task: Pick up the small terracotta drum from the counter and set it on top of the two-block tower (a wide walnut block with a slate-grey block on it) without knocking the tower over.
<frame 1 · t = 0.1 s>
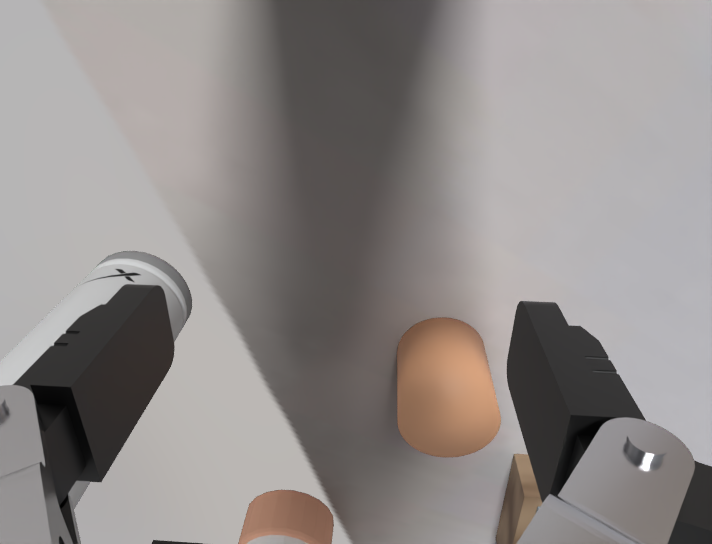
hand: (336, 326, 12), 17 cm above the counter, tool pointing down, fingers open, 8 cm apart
terracotta drum: (440, 352, 34), on the counter
walnut base block: (568, 496, 41), on the counter, touching slate top block
salt shaker: (290, 515, 44), on the counter
travel mug: (143, 289, 33), on the counter
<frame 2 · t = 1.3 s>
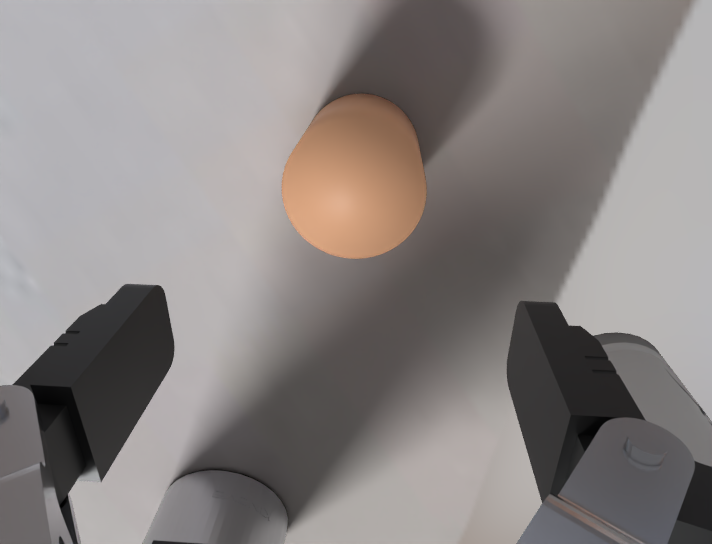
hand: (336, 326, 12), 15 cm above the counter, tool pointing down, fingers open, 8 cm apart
terracotta drum: (361, 153, 25), on the counter
travel mug: (603, 374, 31), on the counter
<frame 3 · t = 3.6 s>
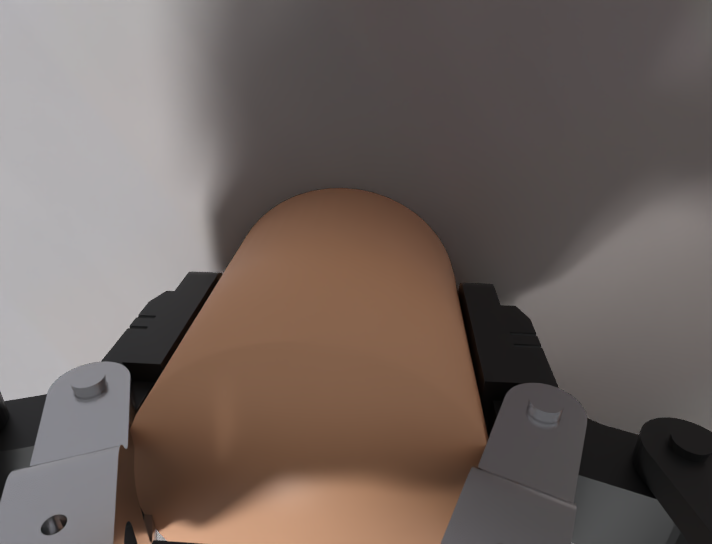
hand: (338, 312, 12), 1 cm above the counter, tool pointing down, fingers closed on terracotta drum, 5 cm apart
terracotta drum: (343, 293, 13), on the counter, touching gripper
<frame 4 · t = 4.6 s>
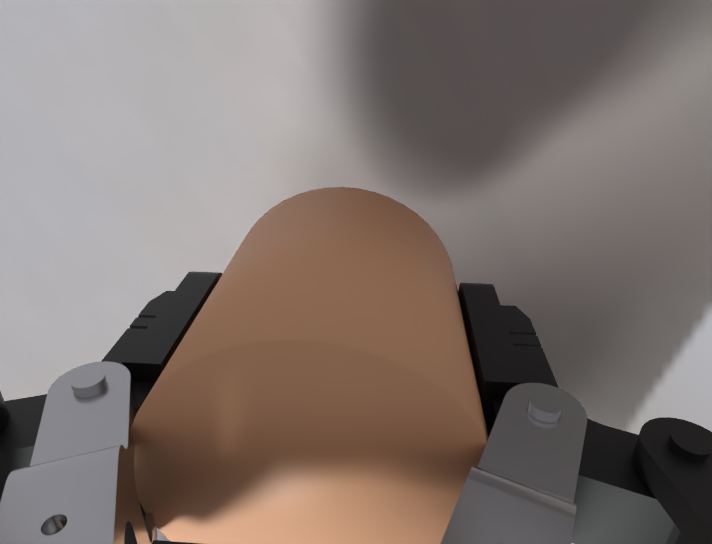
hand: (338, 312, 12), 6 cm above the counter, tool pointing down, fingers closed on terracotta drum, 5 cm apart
terracotta drum: (343, 293, 13), point 5 cm above the counter, touching gripper
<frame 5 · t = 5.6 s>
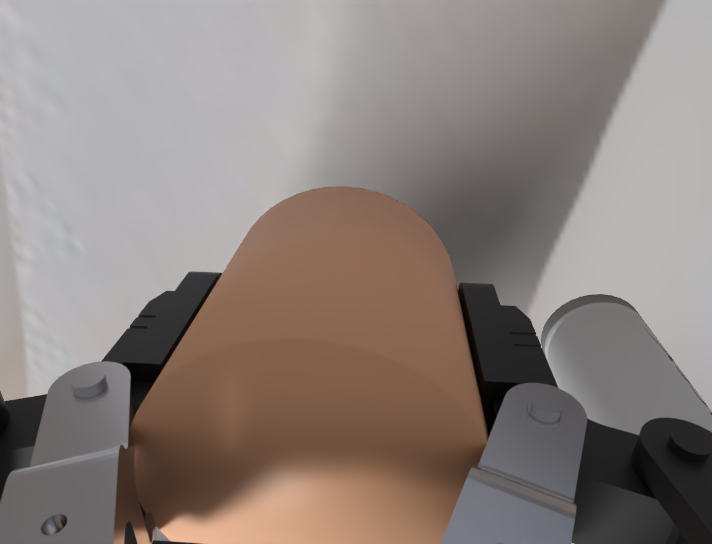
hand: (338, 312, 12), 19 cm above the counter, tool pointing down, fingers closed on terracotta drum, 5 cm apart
terracotta drum: (343, 292, 13), point 18 cm above the counter, touching gripper
travel mug: (588, 333, 34), on the counter
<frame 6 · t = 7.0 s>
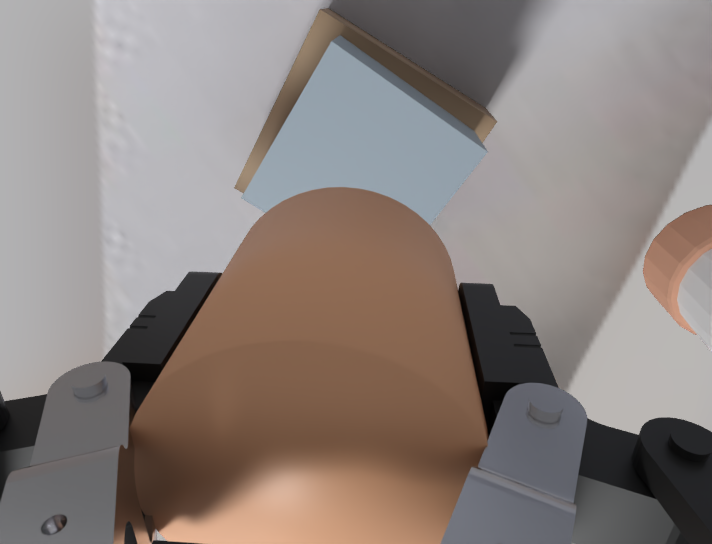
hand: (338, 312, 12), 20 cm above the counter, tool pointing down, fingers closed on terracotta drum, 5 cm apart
terracotta drum: (343, 293, 13), point 19 cm above the counter, touching gripper
walnut base block: (363, 138, 31), on the counter, touching slate top block
salt shaker: (703, 257, 32), on the counter
slate top block: (364, 152, 27), point 4 cm above the counter, touching walnut base block
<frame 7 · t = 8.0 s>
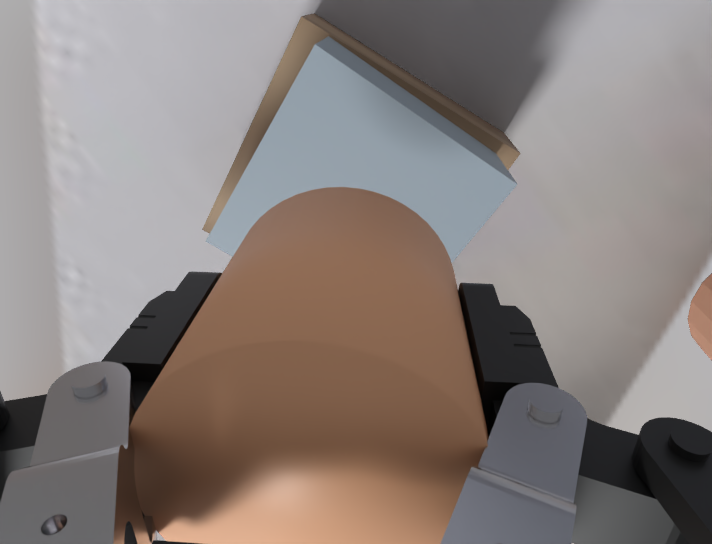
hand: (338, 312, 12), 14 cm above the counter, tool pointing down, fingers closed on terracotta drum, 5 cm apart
terracotta drum: (343, 293, 13), point 13 cm above the counter, touching gripper
walnut base block: (358, 166, 26), on the counter, touching slate top block
slate top block: (360, 179, 22), point 4 cm above the counter, touching walnut base block
when the fingers open (10 cm above the counter, at t = 9.6 s): terracotta drum drops 2 cm, resting on slate top block.
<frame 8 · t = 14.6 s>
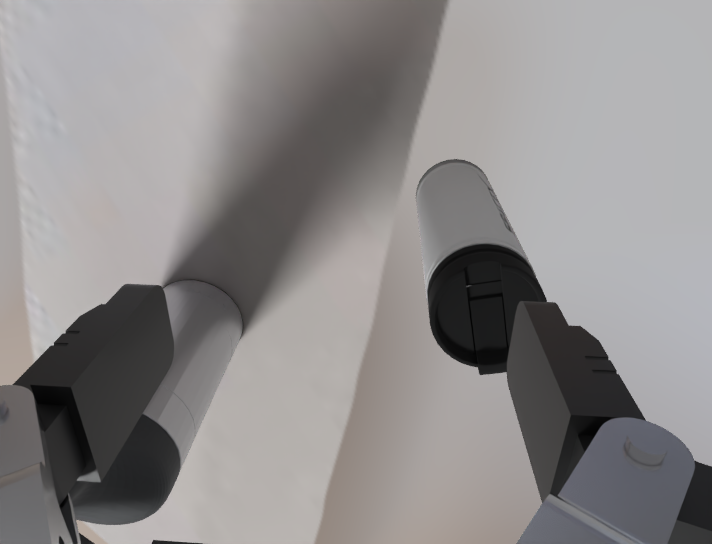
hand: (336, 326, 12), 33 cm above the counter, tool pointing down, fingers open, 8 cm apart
travel mug: (452, 195, 45), on the counter
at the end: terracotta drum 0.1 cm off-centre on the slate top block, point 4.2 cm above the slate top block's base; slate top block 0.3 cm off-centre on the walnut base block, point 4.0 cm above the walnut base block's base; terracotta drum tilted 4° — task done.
